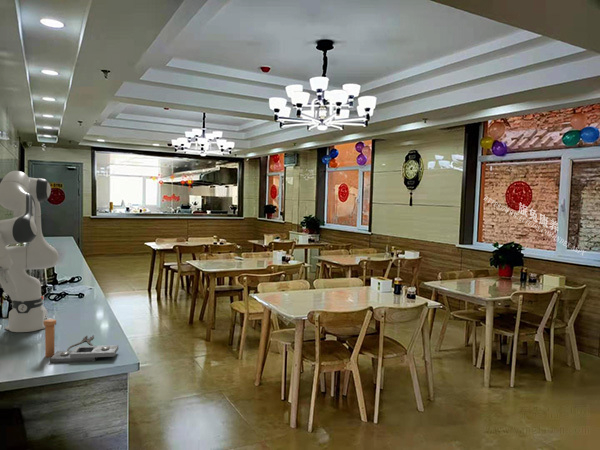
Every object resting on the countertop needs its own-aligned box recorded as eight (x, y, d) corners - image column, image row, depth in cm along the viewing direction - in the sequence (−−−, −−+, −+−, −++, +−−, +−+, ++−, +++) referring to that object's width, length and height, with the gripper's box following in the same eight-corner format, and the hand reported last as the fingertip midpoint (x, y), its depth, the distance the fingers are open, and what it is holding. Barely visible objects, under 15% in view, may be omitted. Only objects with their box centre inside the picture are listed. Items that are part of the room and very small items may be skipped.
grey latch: (57, 355, 179) (57, 345, 178) (118, 352, 183) (118, 343, 183) (49, 363, 170) (49, 353, 170) (114, 360, 175) (114, 350, 175)
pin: (45, 354, 179) (45, 319, 179) (57, 353, 180) (57, 319, 179) (41, 357, 175) (41, 322, 174) (54, 357, 176) (54, 322, 175)
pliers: (66, 351, 182) (70, 336, 200) (66, 353, 182) (70, 338, 200) (92, 349, 186) (94, 334, 204) (92, 351, 186) (94, 336, 204)
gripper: (12, 269, 159) (26, 301, 165) (2, 251, 173) (15, 281, 179) (-8, 276, 155) (7, 309, 161) (-16, 257, 170) (-3, 288, 176)
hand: (11, 294), depth 170 cm, fingers open, 8 cm apart
